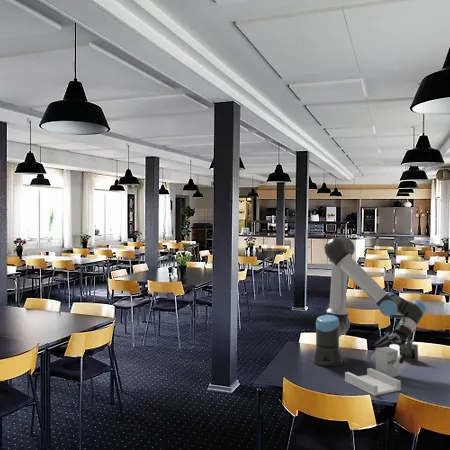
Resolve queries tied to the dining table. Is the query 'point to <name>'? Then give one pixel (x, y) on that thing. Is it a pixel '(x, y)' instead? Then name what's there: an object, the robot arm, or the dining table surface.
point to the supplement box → (386, 361)
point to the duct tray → (374, 382)
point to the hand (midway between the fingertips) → (383, 364)
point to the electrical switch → (412, 352)
